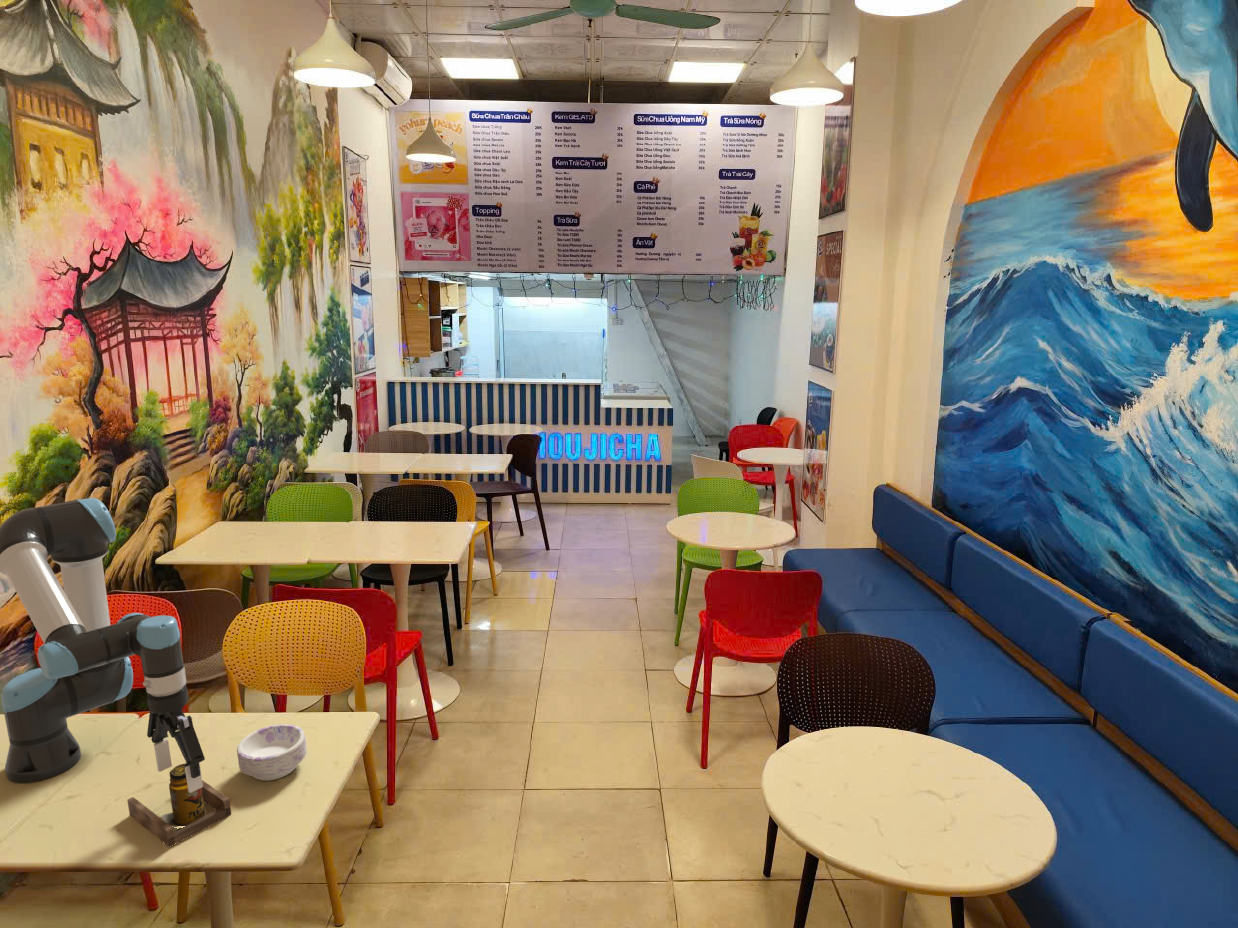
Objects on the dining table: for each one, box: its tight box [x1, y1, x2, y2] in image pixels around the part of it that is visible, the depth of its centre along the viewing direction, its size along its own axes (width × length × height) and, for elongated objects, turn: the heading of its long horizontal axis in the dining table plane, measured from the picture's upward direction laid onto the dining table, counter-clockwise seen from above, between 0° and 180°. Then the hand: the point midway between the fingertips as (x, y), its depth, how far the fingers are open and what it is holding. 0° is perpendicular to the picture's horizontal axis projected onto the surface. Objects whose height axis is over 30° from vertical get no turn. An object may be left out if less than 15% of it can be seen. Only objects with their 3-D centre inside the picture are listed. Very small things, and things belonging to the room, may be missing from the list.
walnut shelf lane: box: [127, 779, 232, 848], centre depth 181 cm, size 18×13×4 cm
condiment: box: [161, 763, 208, 832], centre depth 179 cm, size 7×8×12 cm
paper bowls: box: [236, 723, 308, 782], centre depth 197 cm, size 15×15×8 cm
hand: (180, 778), depth 178 cm, fingers open, 13 cm apart
